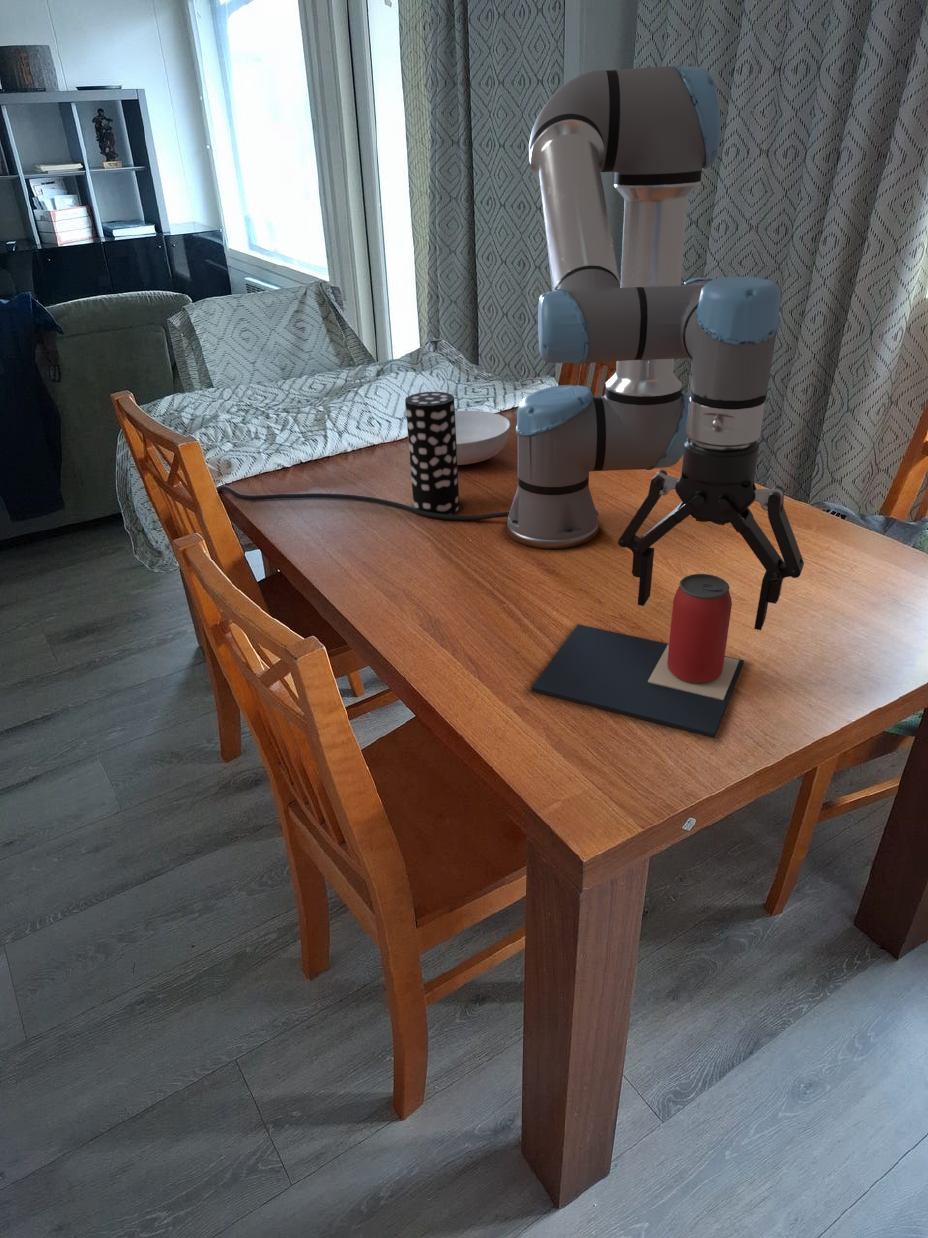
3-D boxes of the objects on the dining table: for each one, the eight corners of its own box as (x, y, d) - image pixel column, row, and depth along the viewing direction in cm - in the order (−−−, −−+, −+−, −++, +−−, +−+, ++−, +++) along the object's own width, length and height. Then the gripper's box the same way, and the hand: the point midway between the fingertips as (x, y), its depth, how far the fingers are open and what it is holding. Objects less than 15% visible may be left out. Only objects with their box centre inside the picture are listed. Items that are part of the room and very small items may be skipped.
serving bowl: (408, 445, 180) (405, 414, 177) (503, 437, 182) (502, 406, 178) (413, 479, 162) (411, 446, 159) (518, 471, 164) (518, 437, 160)
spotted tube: (406, 514, 148) (396, 403, 138) (425, 496, 155) (417, 390, 144) (448, 519, 145) (442, 407, 135) (466, 501, 152) (461, 393, 141)
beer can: (712, 692, 97) (724, 603, 91) (658, 676, 100) (666, 590, 94) (729, 664, 102) (741, 578, 96) (677, 650, 105) (686, 566, 99)
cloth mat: (531, 691, 100) (531, 685, 100) (577, 627, 112) (577, 622, 112) (714, 738, 91) (715, 732, 91) (743, 663, 103) (744, 658, 103)
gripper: (596, 436, 88) (588, 605, 100) (846, 467, 78) (807, 651, 89) (618, 414, 94) (609, 577, 105) (855, 441, 84) (816, 618, 95)
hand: (700, 612), depth 97 cm, fingers open, 13 cm apart
